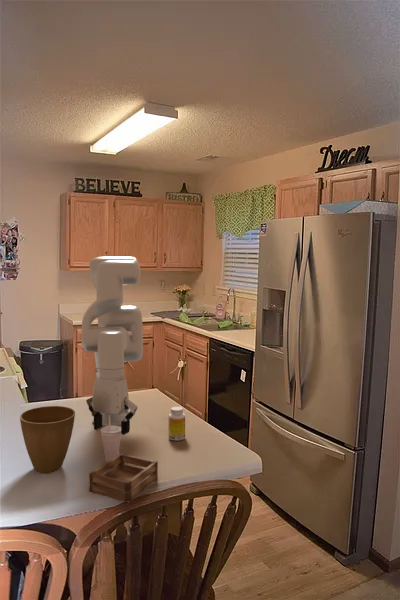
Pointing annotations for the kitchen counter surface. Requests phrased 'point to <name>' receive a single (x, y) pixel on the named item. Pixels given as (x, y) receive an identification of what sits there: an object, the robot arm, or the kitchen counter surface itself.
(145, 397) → the kitchen counter surface
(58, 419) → the plant pot
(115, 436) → the smoothie
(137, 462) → the crate
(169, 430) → the supplement bottle
